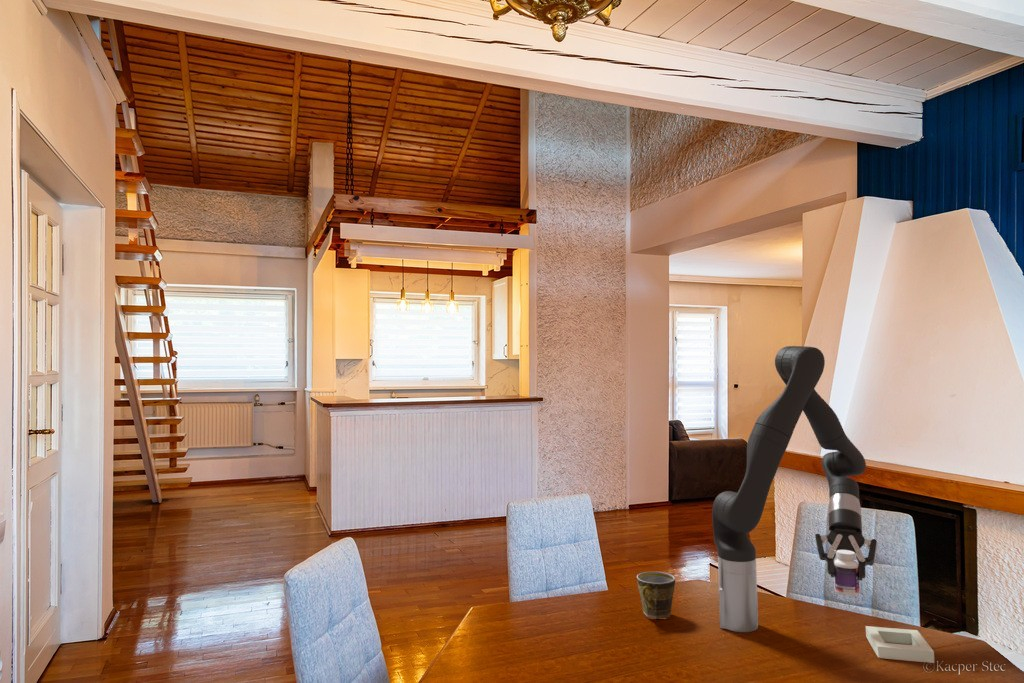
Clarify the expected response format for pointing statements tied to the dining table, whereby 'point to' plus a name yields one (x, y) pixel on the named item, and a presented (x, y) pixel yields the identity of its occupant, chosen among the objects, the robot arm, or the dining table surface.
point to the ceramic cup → (656, 593)
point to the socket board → (912, 652)
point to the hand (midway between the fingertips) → (846, 576)
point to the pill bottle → (846, 573)
